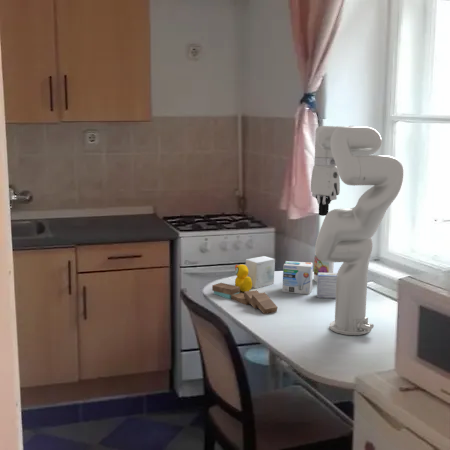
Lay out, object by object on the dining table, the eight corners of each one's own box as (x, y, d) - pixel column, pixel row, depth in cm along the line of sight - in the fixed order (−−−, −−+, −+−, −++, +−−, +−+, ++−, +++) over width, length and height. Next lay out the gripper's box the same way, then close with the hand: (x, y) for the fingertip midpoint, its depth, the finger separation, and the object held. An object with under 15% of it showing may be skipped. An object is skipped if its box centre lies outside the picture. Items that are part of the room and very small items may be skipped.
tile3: (257, 298, 247) (241, 292, 254) (246, 301, 244) (230, 295, 252) (257, 304, 248) (241, 298, 255) (246, 306, 245) (230, 300, 252)
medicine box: (338, 295, 258) (339, 272, 256) (338, 298, 254) (339, 275, 252) (316, 294, 259) (317, 272, 257) (317, 298, 254) (317, 275, 253)
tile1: (277, 307, 236) (264, 292, 243) (265, 309, 234) (252, 294, 240) (276, 311, 237) (263, 297, 244) (264, 314, 235) (251, 299, 241)
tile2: (268, 302, 241) (256, 290, 249) (255, 303, 239) (244, 291, 247) (267, 307, 242) (256, 295, 249) (255, 308, 240) (243, 296, 247)
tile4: (239, 286, 255) (221, 282, 261) (231, 289, 251) (212, 285, 257) (239, 292, 255) (221, 287, 261) (231, 294, 252) (212, 290, 257)
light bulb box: (281, 292, 261) (282, 264, 259) (284, 287, 268) (285, 260, 266) (310, 294, 259) (311, 266, 257) (312, 289, 265) (313, 262, 263)
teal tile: (229, 300, 252) (213, 295, 258) (239, 298, 255) (224, 292, 261) (229, 295, 251) (213, 289, 258) (239, 292, 254) (224, 287, 261)
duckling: (229, 287, 266) (229, 262, 264) (241, 286, 269) (242, 261, 267) (242, 295, 256) (243, 269, 254) (255, 293, 258) (256, 267, 257)
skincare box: (255, 288, 265) (256, 262, 263) (244, 285, 270) (244, 259, 268) (274, 284, 272) (275, 258, 270) (263, 281, 277) (263, 255, 275)
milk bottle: (322, 277, 284) (324, 229, 280) (336, 281, 278) (339, 232, 274) (309, 280, 279) (311, 231, 275) (323, 284, 273) (325, 234, 269)
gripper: (349, 163, 234) (346, 217, 237) (317, 160, 246) (315, 211, 249) (333, 164, 230) (331, 219, 233) (302, 161, 241) (300, 213, 245)
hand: (323, 215), depth 241 cm, fingers closed
